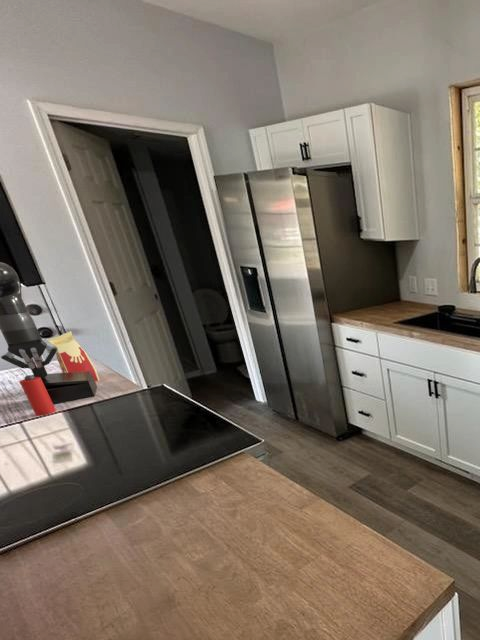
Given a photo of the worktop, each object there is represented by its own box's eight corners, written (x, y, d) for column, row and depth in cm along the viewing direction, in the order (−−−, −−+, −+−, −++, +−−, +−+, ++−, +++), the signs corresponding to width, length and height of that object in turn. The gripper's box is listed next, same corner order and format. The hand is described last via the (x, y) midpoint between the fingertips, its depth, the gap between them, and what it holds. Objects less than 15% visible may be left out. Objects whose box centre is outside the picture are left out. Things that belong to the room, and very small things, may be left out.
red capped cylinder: (35, 419, 126) (15, 378, 122) (38, 415, 130) (18, 375, 125) (56, 415, 129) (37, 375, 124) (58, 410, 132) (39, 372, 128)
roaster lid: (24, 387, 130) (24, 384, 130) (32, 377, 140) (32, 374, 140) (88, 382, 140) (88, 380, 139) (91, 373, 149) (91, 371, 149)
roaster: (38, 410, 134) (30, 393, 131) (45, 398, 143) (37, 383, 141) (95, 398, 142) (88, 382, 140) (98, 388, 151) (91, 373, 149)
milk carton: (95, 377, 163) (75, 328, 156) (102, 382, 158) (81, 331, 151) (63, 384, 156) (40, 333, 149) (69, 389, 151) (45, 336, 144)
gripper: (49, 322, 138) (71, 370, 144) (-11, 329, 130) (15, 380, 136) (46, 325, 132) (69, 375, 138) (-17, 333, 124) (10, 386, 130)
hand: (42, 378), depth 137 cm, fingers closed
